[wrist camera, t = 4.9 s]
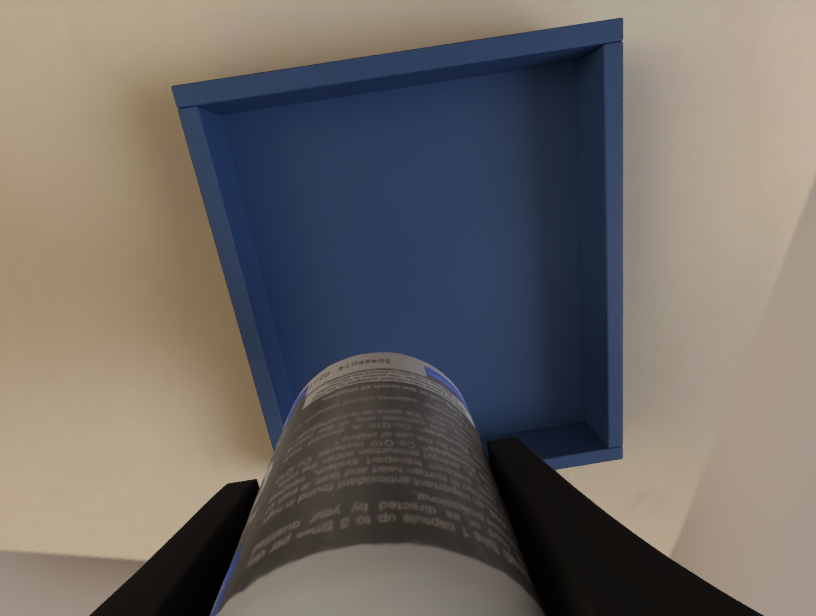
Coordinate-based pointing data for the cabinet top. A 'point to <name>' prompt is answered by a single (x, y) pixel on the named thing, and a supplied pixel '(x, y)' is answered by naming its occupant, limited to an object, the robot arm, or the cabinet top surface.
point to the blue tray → (432, 225)
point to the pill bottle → (379, 506)
